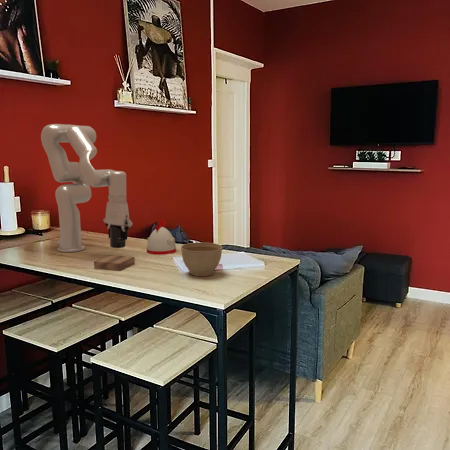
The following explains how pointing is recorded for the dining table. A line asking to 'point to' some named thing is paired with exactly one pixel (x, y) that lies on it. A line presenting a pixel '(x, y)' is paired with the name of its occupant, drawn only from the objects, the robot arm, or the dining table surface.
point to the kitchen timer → (161, 241)
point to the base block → (114, 262)
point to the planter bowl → (201, 258)
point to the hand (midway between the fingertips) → (117, 238)
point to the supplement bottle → (116, 237)
